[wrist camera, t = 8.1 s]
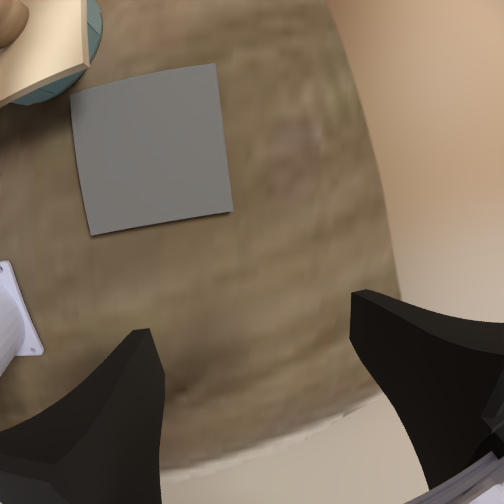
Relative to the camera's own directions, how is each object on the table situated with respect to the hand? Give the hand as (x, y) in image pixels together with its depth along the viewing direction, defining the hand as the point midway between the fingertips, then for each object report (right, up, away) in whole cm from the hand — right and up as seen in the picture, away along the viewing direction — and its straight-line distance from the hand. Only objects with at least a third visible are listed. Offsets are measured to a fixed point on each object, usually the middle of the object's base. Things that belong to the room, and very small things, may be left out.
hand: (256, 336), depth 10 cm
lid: (-13, +15, -1) cm, 20 cm away
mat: (-6, +9, +7) cm, 13 cm away
